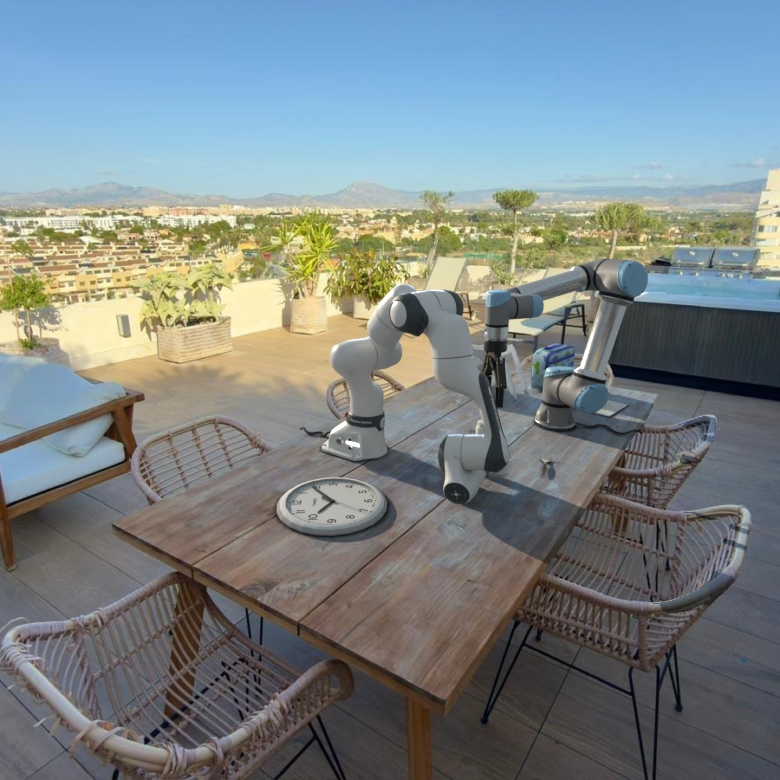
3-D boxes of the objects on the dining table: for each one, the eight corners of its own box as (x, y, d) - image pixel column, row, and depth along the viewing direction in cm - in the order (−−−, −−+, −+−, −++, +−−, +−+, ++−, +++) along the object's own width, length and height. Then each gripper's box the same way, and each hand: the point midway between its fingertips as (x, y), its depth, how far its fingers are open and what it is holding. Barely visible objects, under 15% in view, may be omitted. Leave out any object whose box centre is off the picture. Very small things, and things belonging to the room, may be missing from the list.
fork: (538, 475, 162) (539, 470, 161) (542, 455, 176) (543, 450, 175) (547, 477, 161) (547, 471, 160) (550, 457, 175) (551, 451, 174)
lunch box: (547, 395, 239) (552, 351, 233) (526, 390, 247) (530, 347, 240) (574, 384, 257) (579, 343, 251) (554, 380, 264) (558, 339, 258)
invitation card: (608, 416, 214) (573, 407, 224) (608, 416, 214) (573, 408, 224) (628, 404, 229) (594, 396, 238) (628, 405, 229) (594, 397, 238)
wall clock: (392, 527, 129) (268, 531, 127) (391, 533, 130) (269, 537, 127) (383, 473, 158) (282, 475, 155) (383, 478, 158) (282, 480, 156)
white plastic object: (461, 429, 252) (437, 405, 227) (444, 352, 274) (420, 323, 250) (535, 404, 240) (518, 377, 215) (510, 326, 262) (492, 293, 237)
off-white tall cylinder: (481, 477, 161) (485, 425, 156) (469, 471, 164) (473, 421, 159) (490, 472, 163) (494, 421, 158) (479, 467, 167) (483, 417, 162)
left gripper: (508, 466, 146) (517, 448, 158) (438, 453, 153) (451, 437, 165) (506, 486, 147) (515, 467, 160) (437, 473, 155) (450, 455, 167)
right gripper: (474, 331, 180) (471, 389, 187) (496, 347, 157) (492, 414, 163) (495, 330, 181) (492, 389, 188) (520, 347, 158) (515, 413, 164)
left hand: (482, 451), depth 162 cm, fingers open, 6 cm apart
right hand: (492, 400), depth 175 cm, fingers open, 13 cm apart
